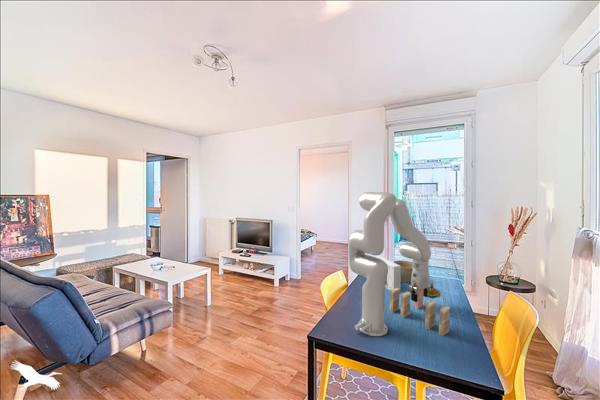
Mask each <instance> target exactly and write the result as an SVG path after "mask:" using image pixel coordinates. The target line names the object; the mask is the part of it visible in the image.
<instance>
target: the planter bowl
mask: <svg viewBox="0 0 600 400" xmlns="http://www.w3.org/2000/svg"><path fill="white" fill-rule="evenodd" d="M393 262H394V263H396V264H398V265H400V266H401V282H402V283H407V284H408V283H409V284H411V277H412V270H413V268H412V261H408V260H394V261H393ZM401 282H400V283H401Z"/></svg>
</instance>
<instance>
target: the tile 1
mask: <svg viewBox="0 0 600 400" xmlns="http://www.w3.org/2000/svg"><path fill="white" fill-rule="evenodd" d="M410 313H411V291H405V292H403V293H401V294H400V317H402V318H407V317H408V316H410V315H411V314H410Z"/></svg>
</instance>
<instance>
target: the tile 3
mask: <svg viewBox="0 0 600 400" xmlns="http://www.w3.org/2000/svg"><path fill="white" fill-rule="evenodd" d="M436 303H437V302H436V301H433V300H430V301H428V302H426V303H425V311H424V312H425V314H424V315H425V317H424V321H425V322H424V328H425V329H427V330H431V329H432V328H433V327H435V325H436Z"/></svg>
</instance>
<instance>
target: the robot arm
mask: <svg viewBox="0 0 600 400" xmlns="http://www.w3.org/2000/svg"><path fill="white" fill-rule="evenodd" d="M358 202H359V206H360V208H361V209H363V211H367V214H366V215H365V216H364V220H363V228H362V229H356V230H354V231H353V232H352V233H351V234H350V236H349V240H348V262H349V268H350V270H351V272H353V273H355V274H357V275H359V276H361V277H364V278H366V281H365V282H364V284H362V289H361V291H362V293H361V318H360V319H359V321H358V323H357V324H355V325H354V329H355V330H356V331H357V330H359V331H360V332H361V333H363V334H365V335H367V336H371V337H383V336H385V335H386V334H387V333H388V328H389V327H388V326H387V324H386V323H385V303H386V302H385V301H386V299H385V298H386V295H385V293H386V287H385V283H386V278H387V274H388V266H387V264H386V263H385V262H384V261H383V260H381V259H379V258H376V256H380V255H382V254H383V252H384V249H385V223H386V220H387V218H388V217H389V218H390V221H391V223H392V226H393V229H394V231H395V233H396V234H398V235H400V236H401V237H402V238H404V239H406V240H408V242H403V243H402V244H401V245H400V246H399V249H398V250H399V251H398V252H399V254H400V255H401V256H402V257H404V258H406V259H409V260H410V259H411V260H412V261H411V262H412V268H413V270H412V277H411V282H410V285H409V286H408V287H409V292H410V293H411V294H410V301H413V302H414V303H415V302H417V299H418V294H417V292H418V289H419V290H422V289H424V293H423V298H428V297H427V291H428V290H427V289H428V287H430V271H429V270H430V269H429V265H430V263H429V260H430V259H431V256H432V251H431V247H430V243H429V239H427V237H426V236H425V235H424V233H423V232H421V231H420V230H419V228H417V227H416V226H415V225H414V224H413V220H412V217H411V215H410V211H409V209H408V208H409V207H408V206H407V203H406V202H405V200H403V199H400V198H397V197H396V195H395V194H393V193H390V192H384V191H366V192H364V193H362V194H361V195H360V197H359V201H358ZM409 241H410V242H409ZM416 287H417V288H416ZM415 289H416V291H415Z"/></svg>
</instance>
